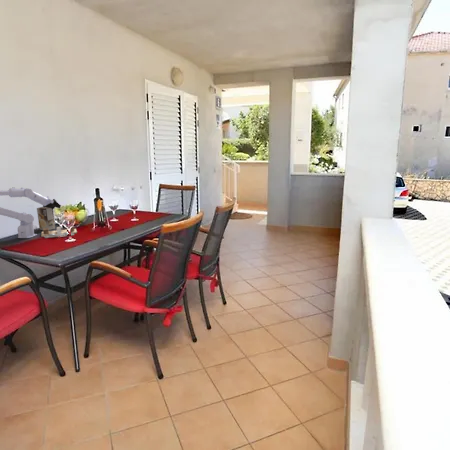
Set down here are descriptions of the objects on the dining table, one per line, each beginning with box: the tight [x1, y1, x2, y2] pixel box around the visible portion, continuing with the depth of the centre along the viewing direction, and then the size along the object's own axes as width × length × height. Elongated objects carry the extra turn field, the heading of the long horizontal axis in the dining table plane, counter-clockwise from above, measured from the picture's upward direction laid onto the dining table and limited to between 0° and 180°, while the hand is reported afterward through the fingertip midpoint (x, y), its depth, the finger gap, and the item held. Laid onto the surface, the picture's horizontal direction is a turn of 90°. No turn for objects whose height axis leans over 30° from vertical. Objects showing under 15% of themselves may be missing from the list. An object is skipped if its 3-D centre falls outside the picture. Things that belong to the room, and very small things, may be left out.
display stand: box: [40, 225, 78, 237], centre depth 237 cm, size 22×10×4 cm, turn 116°
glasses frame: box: [43, 226, 75, 239], centre depth 229 cm, size 18×4×6 cm, turn 115°
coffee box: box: [36, 206, 56, 231], centre depth 248 cm, size 9×6×16 cm
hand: (57, 207), depth 242 cm, fingers open, 7 cm apart
